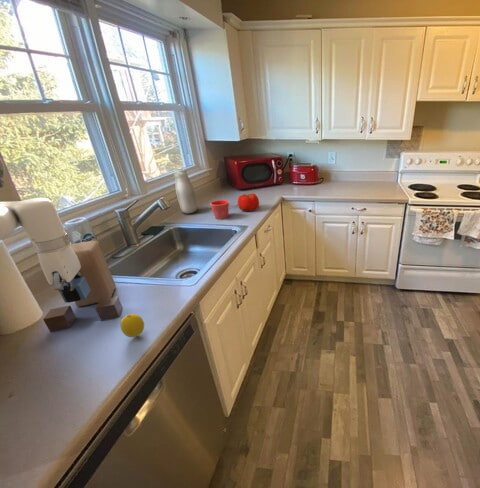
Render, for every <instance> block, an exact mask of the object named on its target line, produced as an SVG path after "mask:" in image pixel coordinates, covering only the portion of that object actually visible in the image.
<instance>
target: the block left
mask: <svg viewBox="0 0 480 488" xmlns="http://www.w3.org/2000/svg"><path fill="white" fill-rule="evenodd" d="M42 320H43V322H44V324H45V325H46V327H47V329H48V331H49V332H50V333H51V332H56V331H61V330H65V329H70V328H71V327H72V325H73V324H74V322H75V321H76V320H77V316H76V314H75V312H74V310H73V309H72V306H71V305H65V306H59V307H55V308H50V309H49V311H48V312H47V313H46V314H45V316H44V317H43V318H42Z"/></svg>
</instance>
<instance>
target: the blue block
mask: <svg viewBox="0 0 480 488" xmlns="http://www.w3.org/2000/svg"><path fill="white" fill-rule="evenodd" d="M65 281H66V280H65ZM71 281H72V284H73V287H74V289H76V290H77V292H78V294H79V296H80V298H81V299H80V300H82V299H86V297H87V295H88V294H89V292H90V287H89V285H88V283H87V281H86V279H85V277H82V278H76V279H72V280H71ZM63 285H64V286H68V283H65V284H63ZM58 292H59V294H60V296H61V297H62V300H63V301H64V303H66V304H67V303H68V302H67V301H66V299H65V297H64V295H63V293H61V292H60V291H59V290H58Z"/></svg>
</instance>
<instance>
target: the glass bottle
mask: <svg viewBox="0 0 480 488" xmlns="http://www.w3.org/2000/svg"><path fill="white" fill-rule="evenodd" d="M173 177H174V178H175V179H174V180H175V181H174V182H175V186H174V187H175V194H176V198H177V201H178V205H179V208H180V210H181V212H182V213H184V214H188V215H189V214H190V215H191V214H194V213H195V212H196V211H197V210H198V203H197V198H196V194H195V188H194V186H193V184H192V183H191V180H190V178H189V175H188V172H187V170H185V169H181V168H180V169H177V170H174V173H173Z"/></svg>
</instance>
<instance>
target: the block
mask: <svg viewBox="0 0 480 488" xmlns="http://www.w3.org/2000/svg"><path fill="white" fill-rule="evenodd" d="M71 247H72V248H73V250H74V252H75V254H76V255H77V257H78V260H79V262H80V265H81V268H80V270H81V271H80V273H81V275H82V277H85V279H86V281H87V283H88V285H89V287H90V292H89V294H88V295H87V297H86V299H82V300H79V301H75V302H74V304H75V306H76V307H84V306H89V305H93V304H98V303H99V301H100V300H101V299H106V298H111V297H113V294H114V292H115V289H116V283H115V280H114V278H113V275H112V273H111V270H110V268H109V266H108V263H107V259H106V257H105V255H104V252H103V250H102V248H101V245H100V243H99V241H98V240H89V241H82V242H74V243H71ZM63 281H65V279H63Z"/></svg>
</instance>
